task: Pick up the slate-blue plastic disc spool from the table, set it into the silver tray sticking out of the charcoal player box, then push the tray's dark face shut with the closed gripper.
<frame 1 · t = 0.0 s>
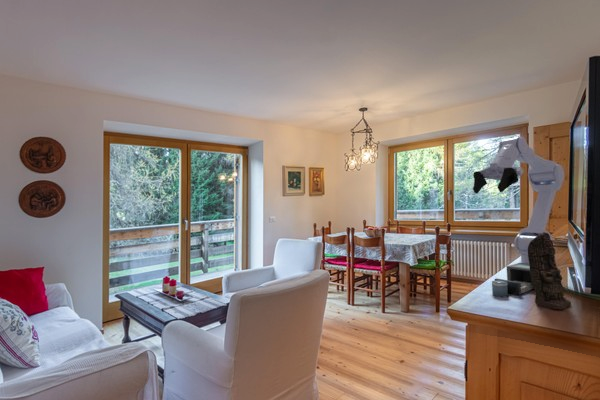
hand: (487, 190, 99), 32 cm above the table, tool tilted 50°, fingers open, 7 cm apart
disc spool: (500, 295, 97), on the table
statue: (550, 305, 86), on the table
tray: (515, 283, 101), point 2 cm above the table, slide at 7.0 cm
player housing: (529, 285, 105), on the table
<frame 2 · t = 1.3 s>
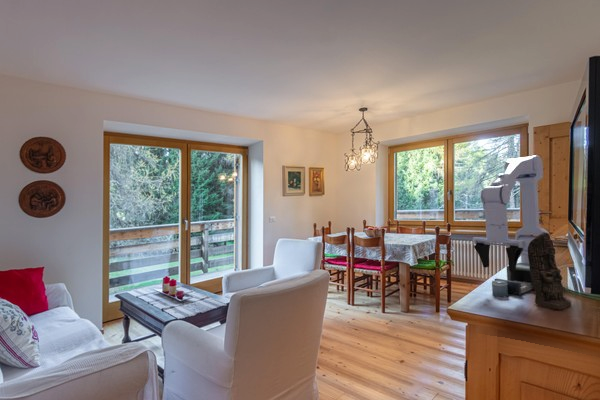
hand: (498, 269, 97), 8 cm above the table, tool pointing down, fingers open, 7 cm apart
nothing on the table moved.
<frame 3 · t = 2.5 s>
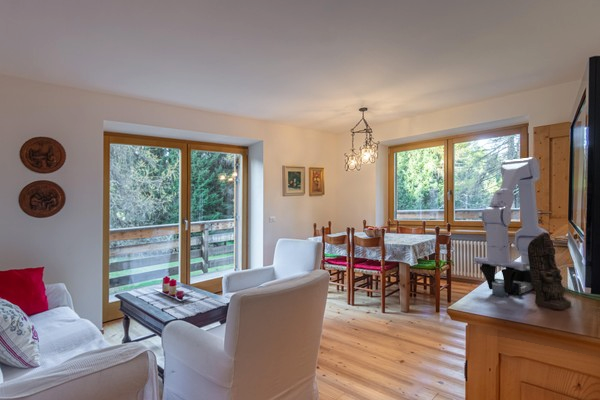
hand: (499, 290, 97), 1 cm above the table, tool pointing down, fingers closed on disc spool, 4 cm apart
disc spool: (500, 295, 97), on the table, touching gripper
everything else where it was.
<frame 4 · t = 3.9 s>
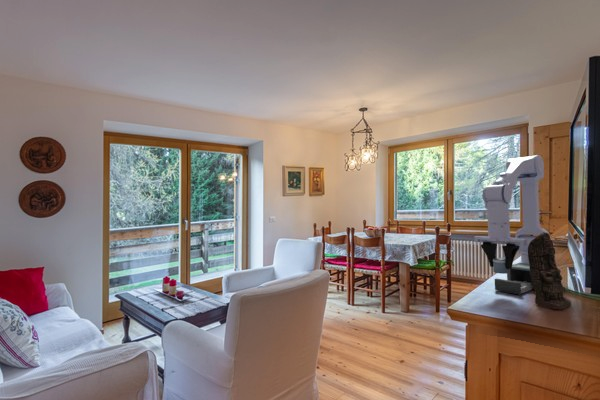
hand: (500, 267, 97), 8 cm above the table, tool pointing down, fingers closed on disc spool, 4 cm apart
disc spool: (501, 272, 97), point 7 cm above the table, touching gripper
everything else where it was.
when the fingers open (3 cm above the table, at t = 5.7 s): disc spool stays where it is, resting on tray.
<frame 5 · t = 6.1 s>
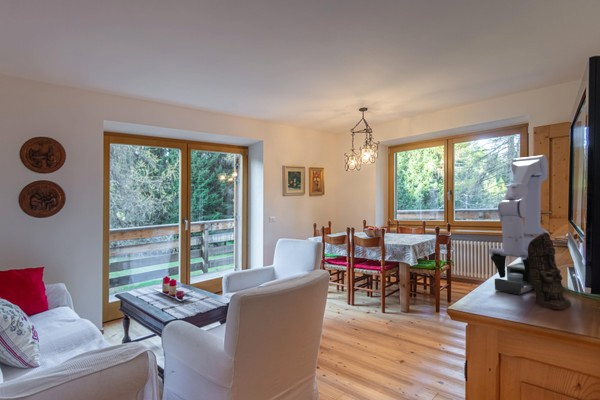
hand: (515, 279, 101), 3 cm above the table, tool pointing down, fingers open, 7 cm apart
disc spool: (515, 286, 101), point 1 cm above the table, touching tray
tray: (515, 283, 101), point 2 cm above the table, slide at 7.0 cm, touching disc spool
everything else where it was.
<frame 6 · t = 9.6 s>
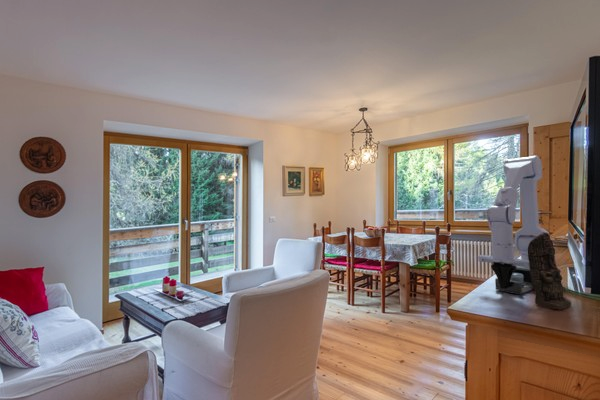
hand: (504, 287, 98), 2 cm above the table, tool pointing down, fingers closed, pressing on tray
tray: (516, 283, 101), point 2 cm above the table, slide at 6.6 cm, touching disc spool, gripper
everything else where it was.
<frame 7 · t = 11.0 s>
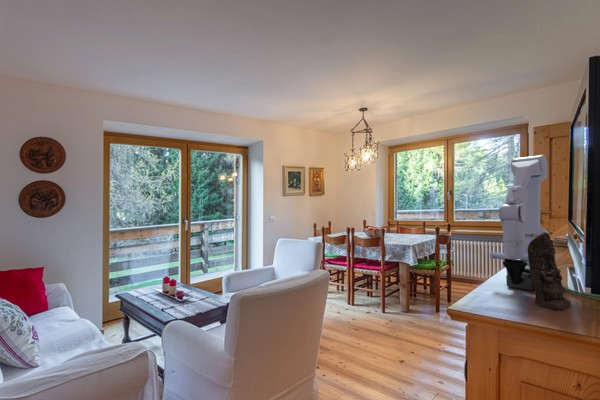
hand: (515, 283, 101), 2 cm above the table, tool pointing down, fingers closed, pressing on tray
disc spool: (526, 283, 105), point 1 cm above the table, touching tray
tray: (526, 280, 105), point 2 cm above the table, slide at -0.2 cm, touching disc spool, gripper
everything else where it was.
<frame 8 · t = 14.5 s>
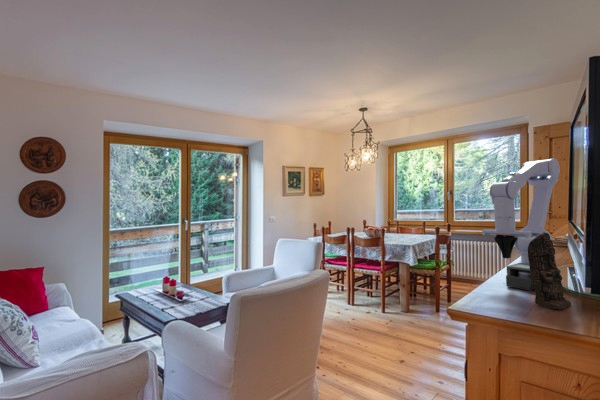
hand: (506, 258, 106), 9 cm above the table, tool pointing down, fingers closed
tray: (526, 280, 104), point 2 cm above the table, slide at 0.0 cm, touching disc spool
everything else where it was.
at the end: tray slide at 0.0 cm; disc spool 1.4 cm off-centre on the player housing, point 1.0 cm above the player housing's base; disc spool tilted 0° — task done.
